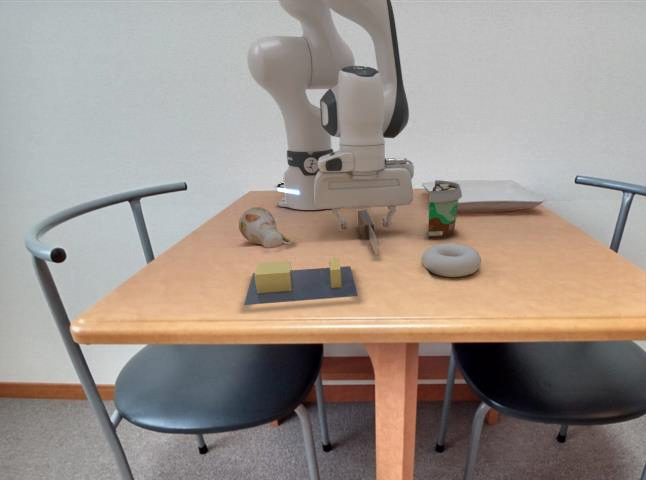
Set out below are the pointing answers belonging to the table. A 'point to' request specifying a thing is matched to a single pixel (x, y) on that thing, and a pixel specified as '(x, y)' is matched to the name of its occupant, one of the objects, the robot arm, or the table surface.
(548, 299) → the table surface
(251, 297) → the butter dish
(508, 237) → the table surface
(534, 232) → the table surface
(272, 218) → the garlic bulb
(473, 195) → the square plate
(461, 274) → the donut
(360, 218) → the knife
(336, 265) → the butter slice
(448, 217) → the food container
